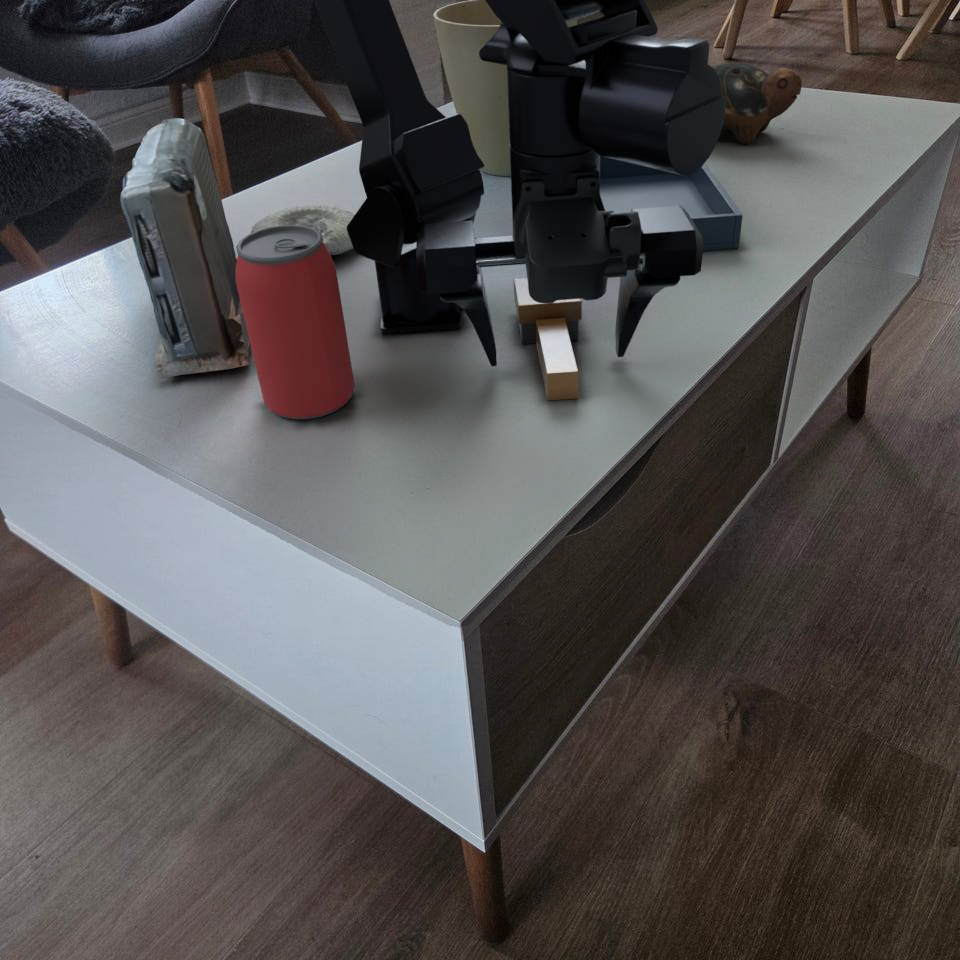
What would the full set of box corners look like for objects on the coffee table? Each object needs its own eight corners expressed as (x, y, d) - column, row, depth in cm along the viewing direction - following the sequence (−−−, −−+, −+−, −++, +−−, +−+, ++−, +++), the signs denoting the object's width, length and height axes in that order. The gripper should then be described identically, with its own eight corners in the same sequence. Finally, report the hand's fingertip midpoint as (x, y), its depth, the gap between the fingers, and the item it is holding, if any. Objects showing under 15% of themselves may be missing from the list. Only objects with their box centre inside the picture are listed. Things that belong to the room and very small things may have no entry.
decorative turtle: (788, 154, 102) (792, 78, 97) (656, 149, 109) (654, 78, 104) (808, 123, 108) (814, 51, 103) (683, 121, 115) (682, 53, 110)
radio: (186, 260, 88) (143, 97, 79) (277, 252, 88) (244, 88, 79) (134, 388, 70) (69, 193, 60) (249, 377, 70) (202, 182, 61)
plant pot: (540, 196, 96) (537, 29, 87) (420, 178, 102) (405, 21, 93) (599, 152, 106) (602, -2, 97) (486, 138, 113) (479, -8, 103)
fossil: (279, 240, 80) (220, 226, 87) (290, 281, 82) (232, 264, 89) (378, 200, 86) (316, 190, 93) (386, 239, 88) (325, 226, 95)
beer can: (339, 427, 64) (309, 264, 56) (250, 420, 65) (210, 260, 58) (367, 377, 69) (343, 222, 62) (284, 372, 70) (251, 220, 63)
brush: (596, 397, 65) (597, 354, 63) (528, 402, 65) (527, 359, 63) (573, 312, 75) (573, 273, 73) (514, 317, 75) (513, 278, 73)
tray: (592, 259, 83) (593, 225, 81) (566, 184, 98) (566, 155, 97) (738, 248, 83) (742, 215, 81) (690, 175, 99) (692, 146, 97)
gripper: (404, 199, 52) (429, 430, 61) (737, 175, 52) (710, 409, 61) (407, 138, 61) (429, 347, 70) (691, 117, 61) (674, 330, 70)
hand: (556, 359), depth 68 cm, fingers open, 9 cm apart
